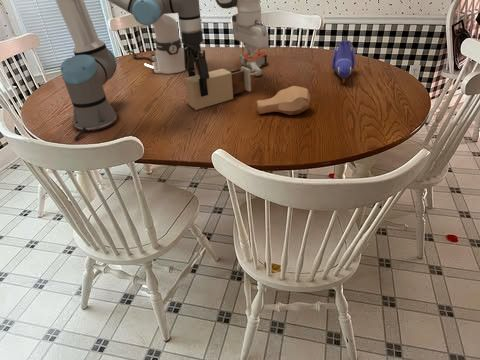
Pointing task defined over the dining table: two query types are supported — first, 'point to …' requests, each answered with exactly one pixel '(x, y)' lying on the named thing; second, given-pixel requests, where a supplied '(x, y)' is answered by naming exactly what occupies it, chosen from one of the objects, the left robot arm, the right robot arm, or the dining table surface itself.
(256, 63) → the grey and red gadget
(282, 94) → the squash
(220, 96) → the beige rectangular block
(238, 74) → the drawer
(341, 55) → the toy
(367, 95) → the dining table surface
